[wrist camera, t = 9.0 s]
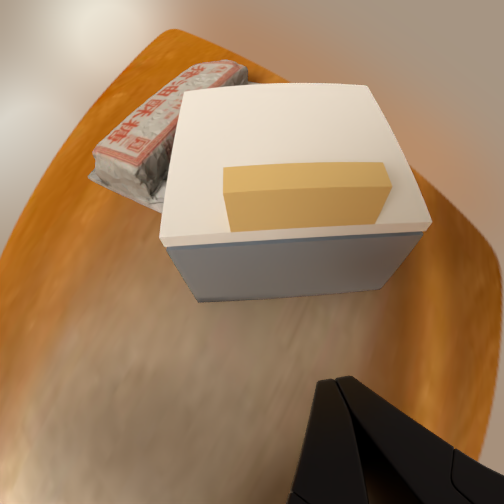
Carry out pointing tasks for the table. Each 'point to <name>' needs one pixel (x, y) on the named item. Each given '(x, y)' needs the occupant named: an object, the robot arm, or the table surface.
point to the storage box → (291, 265)
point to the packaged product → (155, 135)
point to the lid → (286, 167)
